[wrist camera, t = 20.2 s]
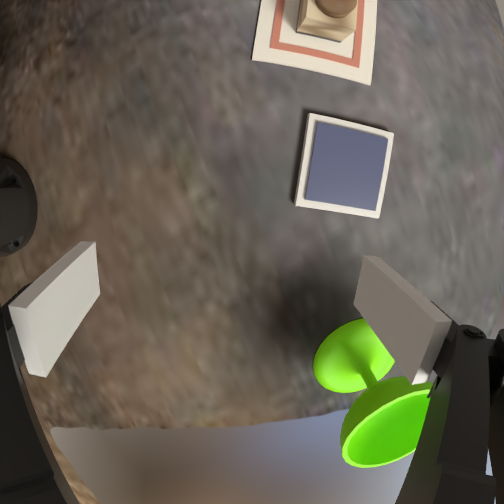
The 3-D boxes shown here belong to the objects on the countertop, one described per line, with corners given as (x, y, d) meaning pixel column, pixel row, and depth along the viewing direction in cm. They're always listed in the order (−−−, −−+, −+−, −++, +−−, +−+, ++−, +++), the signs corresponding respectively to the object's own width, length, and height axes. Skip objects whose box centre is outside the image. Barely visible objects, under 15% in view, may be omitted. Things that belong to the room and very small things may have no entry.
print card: (251, 60, 35) (252, 59, 35) (267, -35, 30) (268, -37, 30) (369, 85, 37) (371, 85, 37) (376, -8, 32) (377, -9, 32)
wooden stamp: (295, 32, 34) (310, 11, 27) (300, -3, 32) (314, -29, 25) (339, 43, 35) (362, 24, 27) (342, 7, 33) (364, -15, 25)
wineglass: (380, 299, 48) (438, 367, 31) (409, 358, 53) (455, 423, 36) (295, 353, 50) (321, 439, 33) (336, 404, 55) (364, 478, 38)
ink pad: (293, 203, 42) (296, 206, 40) (307, 113, 38) (311, 112, 37) (375, 216, 43) (380, 219, 42) (389, 133, 40) (395, 133, 38)
